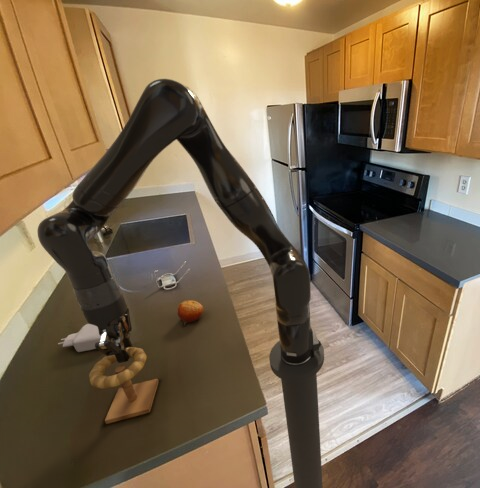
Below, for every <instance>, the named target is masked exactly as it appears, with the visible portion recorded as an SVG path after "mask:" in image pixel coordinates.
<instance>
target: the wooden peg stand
mask: <svg viewBox="0 0 480 488" xmlns="http://www.w3.org/2000/svg"><path fill="white" fill-rule="evenodd" d="M126 369H127V368H126V366H125V365H123V364H121V365H119V366H117V367H116V368H115V369H114V373H115V375H116V374H118V373H120V372H122V371H124V370H126ZM158 385H159V379H158V378H154V379H149V380H146V381H142V382H137V383H134V384H133V381H132V380H131V379H130V380H128V381H126V382H124V383H123V384H121V385H120V386H121V387H118V389H117V390H116V392H115V393H116V394H115V396H114V398H113V400H112V403H111V405H110V407H109V410H108V412H107V413H106V417H105V419H104V422H105V424H106V425H108V424H112V423H116V422H119V421H123V420H127V419H130V418H135V417H137V416H143V415H145V414H150V413H151V411H152V407H153V403H154V400H155V396H156V392H157V389H158Z"/></svg>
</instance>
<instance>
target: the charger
mask: <svg viewBox="0 0 480 488" xmlns="http://www.w3.org/2000/svg"><path fill="white" fill-rule="evenodd" d="M100 340H101V336H100V335H99V331H98V327H97V326H95V325H92V324H89V323H86V324H85V325H83V326H81V328H80V329H79V331H78V332H76V333H71V334H68V335H67V336H66V337H65V338H61V339H60V341H61V342H58V343H57V345H62V348H68V347H74V350H75V351H76V352H78V353H82V352H87V351H91V350H92V351H93V350H97V349H96V348H95V343H97V342H100Z"/></svg>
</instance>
